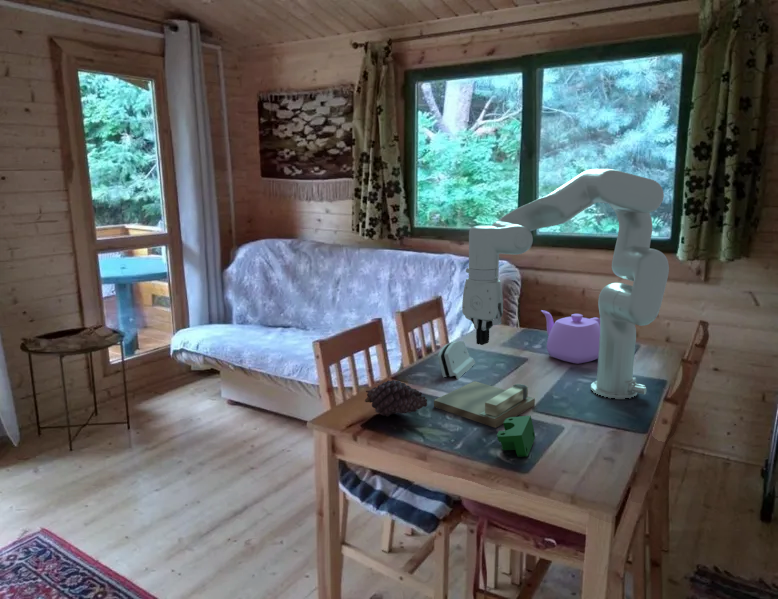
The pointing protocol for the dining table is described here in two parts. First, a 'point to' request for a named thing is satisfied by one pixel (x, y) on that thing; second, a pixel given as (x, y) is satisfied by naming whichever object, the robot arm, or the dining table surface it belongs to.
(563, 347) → the teapot
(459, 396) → the stool seat
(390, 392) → the pine cone
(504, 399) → the folding leg
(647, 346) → the dining table surface
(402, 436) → the dining table surface
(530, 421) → the clamp
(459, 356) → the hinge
